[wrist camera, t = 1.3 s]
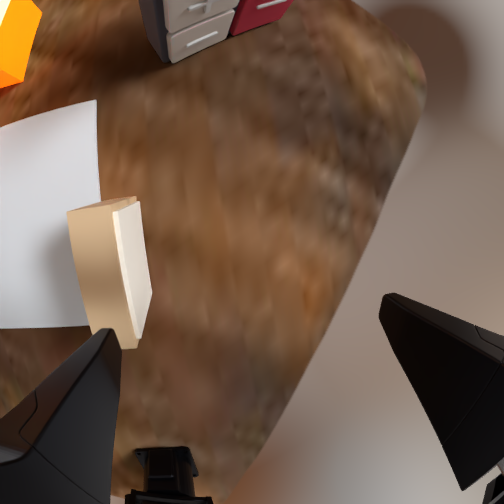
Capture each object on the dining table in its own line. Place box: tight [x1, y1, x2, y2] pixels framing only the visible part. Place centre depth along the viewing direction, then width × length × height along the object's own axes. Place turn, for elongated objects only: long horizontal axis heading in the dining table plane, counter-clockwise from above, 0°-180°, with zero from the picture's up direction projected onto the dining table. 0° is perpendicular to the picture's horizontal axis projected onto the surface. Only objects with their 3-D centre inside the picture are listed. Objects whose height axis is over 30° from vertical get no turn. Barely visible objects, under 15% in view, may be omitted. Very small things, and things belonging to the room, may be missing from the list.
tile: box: [66, 196, 152, 349], centre depth 18 cm, size 8×3×8 cm, turn 4°
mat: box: [0, 100, 101, 328], centre depth 19 cm, size 18×16×1 cm
